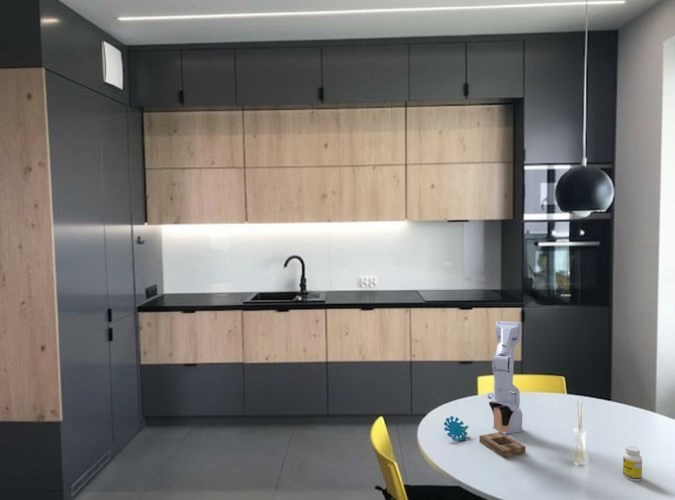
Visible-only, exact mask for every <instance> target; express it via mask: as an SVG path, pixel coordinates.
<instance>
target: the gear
mask: <svg viewBox="0 0 675 500" xmlns="http://www.w3.org/2000/svg"><path fill="white" fill-rule="evenodd" d="M458 421H460V419H459V418H458V417H457V416H456V417H455V418H454V416H452V415H451V416H450V417H447V418H445V422H444V423H443V426H444V428H443V430H444V431H445V432H447V431H448V432H447V434H446V435H447V437H451V436H452V437H451V440H453V441H456V440H457V442H461V441H462V440H465V439H466V436H467V435H468V432H467V431H466V430H467V429H469V425H465V426H464V421H462V420H461V421H460V422H458Z"/></svg>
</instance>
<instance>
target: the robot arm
mask: <svg viewBox="0 0 675 500" xmlns="http://www.w3.org/2000/svg"><path fill="white" fill-rule="evenodd" d="M495 335H496V339H497V342H499V343H497V345H496V350H495V354H494V355H495V356H492V359H491V360H492V363H491V366H492V373H493V374H492V375H493V392H488V393H487V399H489V400H491V401H489V402H488V404H489V405H488V406H489V407H490V409H491V411H492V414H493V416H494V407H499V409H500V411H501V415H502V424H503V426H508V425H509V431H505V432H502V433H504V434H505V435H507V434H513V433H519V432H523V431H524V428H523V413H522V410H521V408H520V402H521V400H520V397H521V395H520V390H519V388H518V387H517V386H516V385H515V384H514V363H515V357H514V356H515V348H516V346H517V344H519V343H521V338H522V323H521V322H520V321H518V322H517V321H501V320H497V321H496V323H495ZM500 406H503V407H500ZM492 428H494V425H492Z"/></svg>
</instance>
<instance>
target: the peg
mask: <svg viewBox="0 0 675 500" xmlns="http://www.w3.org/2000/svg"><path fill="white" fill-rule="evenodd" d="M500 407H503V406H500ZM493 426H494V427H493V429H494V430H496V431H498V432H505V431H509V425H508V426H503V424H502V415H501V411H500V409H499V407H494V415H493Z"/></svg>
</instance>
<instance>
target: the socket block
mask: <svg viewBox="0 0 675 500" xmlns="http://www.w3.org/2000/svg"><path fill="white" fill-rule="evenodd" d="M479 444H482V445H484V446H485V448H488V449H489V450H491V451H492V452H494V453H495V454H497V455H498V456H500V457H501V458H502V459H503V458H504V459H505V458H508V457H512V456H513V457H514V456H517V455H522V454H526V453H527V450H526V448H527V447H526V445H524V444H522V443H521V442H520V441H517V440H516V439H514V438H512V437H510V436H509V435H507V434H504V433H502V432H499V431H498V432H493V433H492V432H491V433H488V434H481V435H479ZM500 444H501V445H500Z"/></svg>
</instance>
